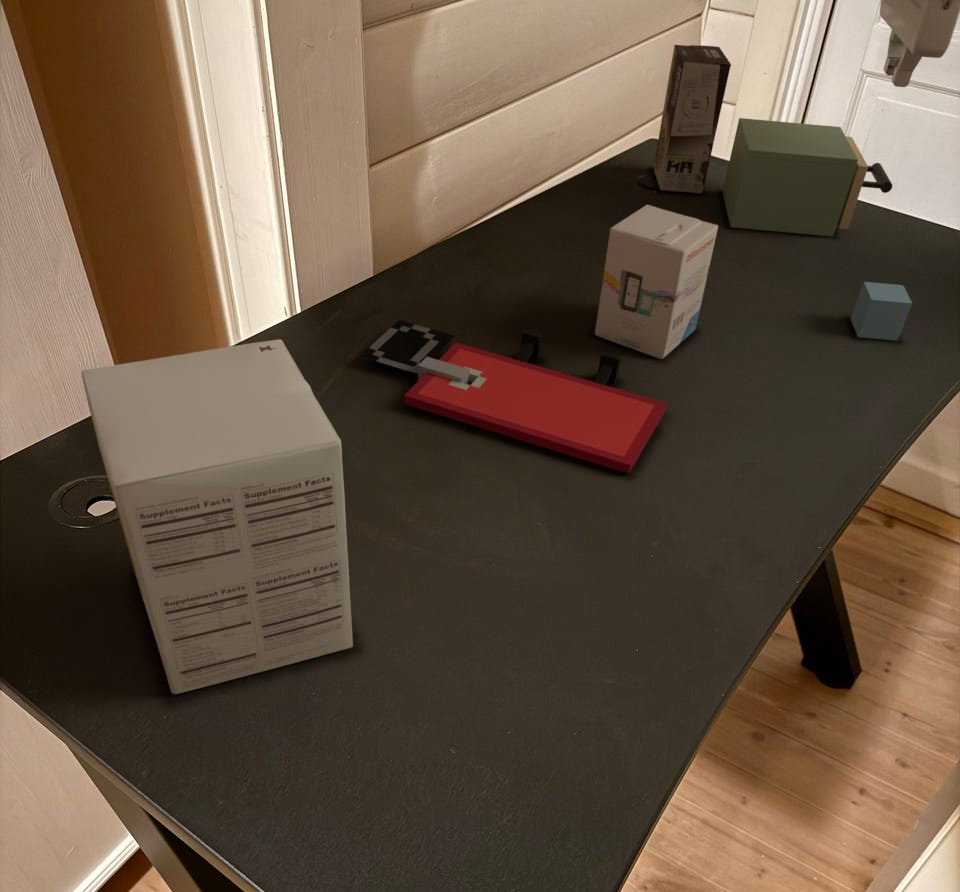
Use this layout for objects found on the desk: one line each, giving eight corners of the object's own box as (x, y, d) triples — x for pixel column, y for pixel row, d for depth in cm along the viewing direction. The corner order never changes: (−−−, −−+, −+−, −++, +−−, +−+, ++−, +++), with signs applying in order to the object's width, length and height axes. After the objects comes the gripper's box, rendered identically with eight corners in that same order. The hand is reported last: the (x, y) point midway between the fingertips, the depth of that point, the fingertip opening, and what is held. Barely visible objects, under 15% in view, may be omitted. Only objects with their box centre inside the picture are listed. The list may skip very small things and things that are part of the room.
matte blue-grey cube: (888, 322, 107) (903, 285, 104) (897, 340, 104) (912, 303, 101) (850, 318, 107) (863, 281, 104) (857, 337, 104) (871, 299, 101)
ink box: (629, 307, 106) (647, 201, 98) (697, 330, 103) (722, 223, 95) (592, 335, 101) (608, 226, 93) (662, 361, 98) (685, 250, 90)
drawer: (865, 199, 131) (885, 139, 126) (882, 232, 123) (904, 170, 118) (744, 188, 132) (758, 128, 126) (752, 220, 124) (768, 157, 118)
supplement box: (135, 575, 71) (76, 366, 58) (304, 537, 75) (283, 334, 63) (170, 699, 63) (110, 487, 50) (358, 648, 67) (345, 440, 54)
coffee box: (704, 194, 132) (732, 64, 120) (659, 191, 132) (682, 60, 120) (695, 170, 138) (721, 45, 127) (652, 168, 138) (674, 42, 127)
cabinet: (818, 200, 133) (840, 126, 126) (833, 236, 124) (858, 159, 117) (722, 191, 133) (739, 117, 126) (730, 227, 124) (749, 149, 117)
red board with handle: (407, 320, 101) (336, 386, 91) (407, 295, 99) (334, 361, 89) (674, 397, 93) (627, 478, 84) (680, 372, 91) (633, 452, 82)
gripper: (994, -37, 99) (941, 108, 108) (945, -72, 113) (902, 59, 123) (933, -42, 99) (886, 103, 109) (892, -76, 113) (854, 55, 123)
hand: (894, 79), depth 116 cm, fingers open, 3 cm apart
